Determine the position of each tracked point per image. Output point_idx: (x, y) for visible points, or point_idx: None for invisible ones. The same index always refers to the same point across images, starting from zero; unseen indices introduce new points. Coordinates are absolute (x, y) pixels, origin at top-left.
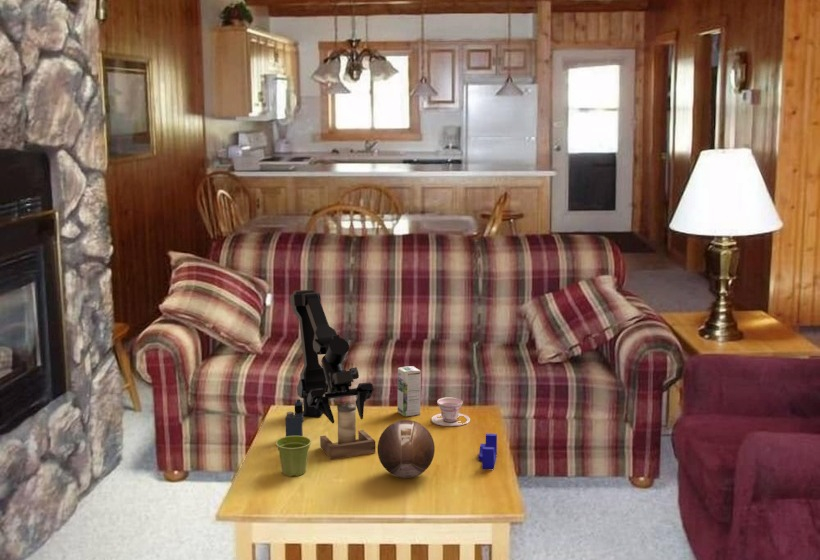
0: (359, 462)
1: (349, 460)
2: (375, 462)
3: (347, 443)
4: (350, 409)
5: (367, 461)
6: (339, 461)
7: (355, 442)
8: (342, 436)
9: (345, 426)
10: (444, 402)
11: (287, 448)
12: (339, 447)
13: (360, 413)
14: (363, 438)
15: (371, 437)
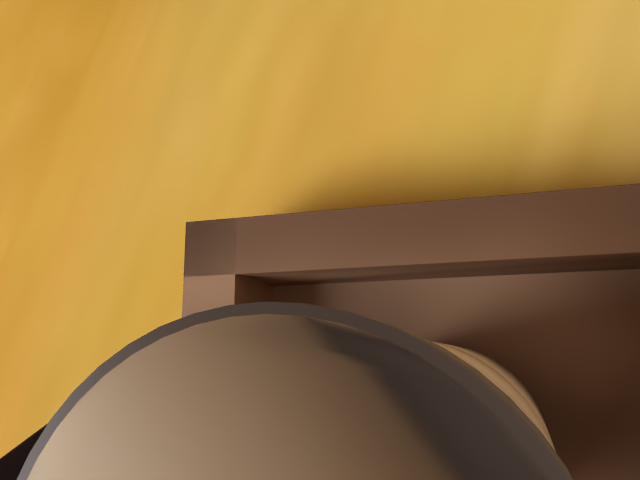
0: (439, 67)
1: (513, 136)
2: (316, 37)
3: (485, 252)
4: (251, 307)
5: (368, 72)
6: (619, 137)
7: (386, 251)
8: (516, 383)
9: (463, 352)
10: None
11: None
12: (611, 189)
13: None
14: None
15: None
